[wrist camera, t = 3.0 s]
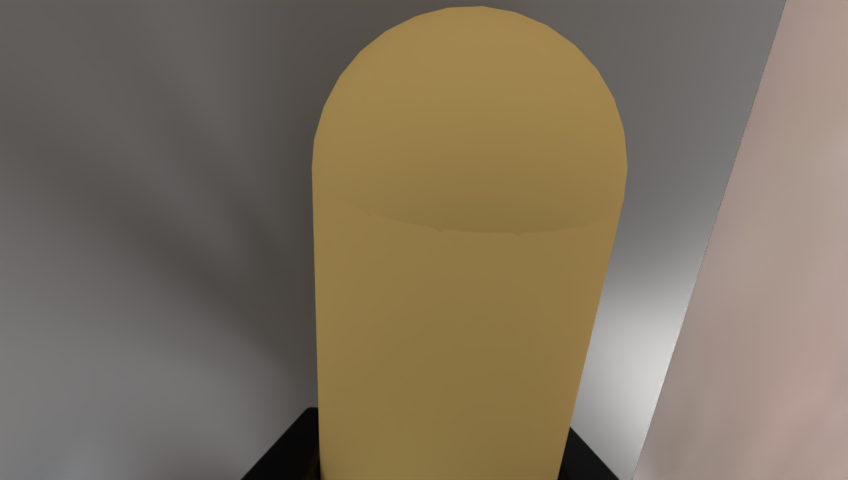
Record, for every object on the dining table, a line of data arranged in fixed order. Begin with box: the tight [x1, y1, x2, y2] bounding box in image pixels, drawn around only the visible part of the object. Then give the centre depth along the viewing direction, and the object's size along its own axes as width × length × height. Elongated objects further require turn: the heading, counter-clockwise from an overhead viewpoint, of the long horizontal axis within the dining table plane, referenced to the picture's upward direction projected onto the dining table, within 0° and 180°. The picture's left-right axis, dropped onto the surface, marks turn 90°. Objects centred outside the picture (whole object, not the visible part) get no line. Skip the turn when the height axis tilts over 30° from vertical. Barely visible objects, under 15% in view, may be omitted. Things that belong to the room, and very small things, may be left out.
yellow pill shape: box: [312, 6, 628, 480], centre depth 8 cm, size 14×4×4 cm, turn 176°
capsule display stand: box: [0, 0, 786, 480], centre depth 9 cm, size 15×17×4 cm
